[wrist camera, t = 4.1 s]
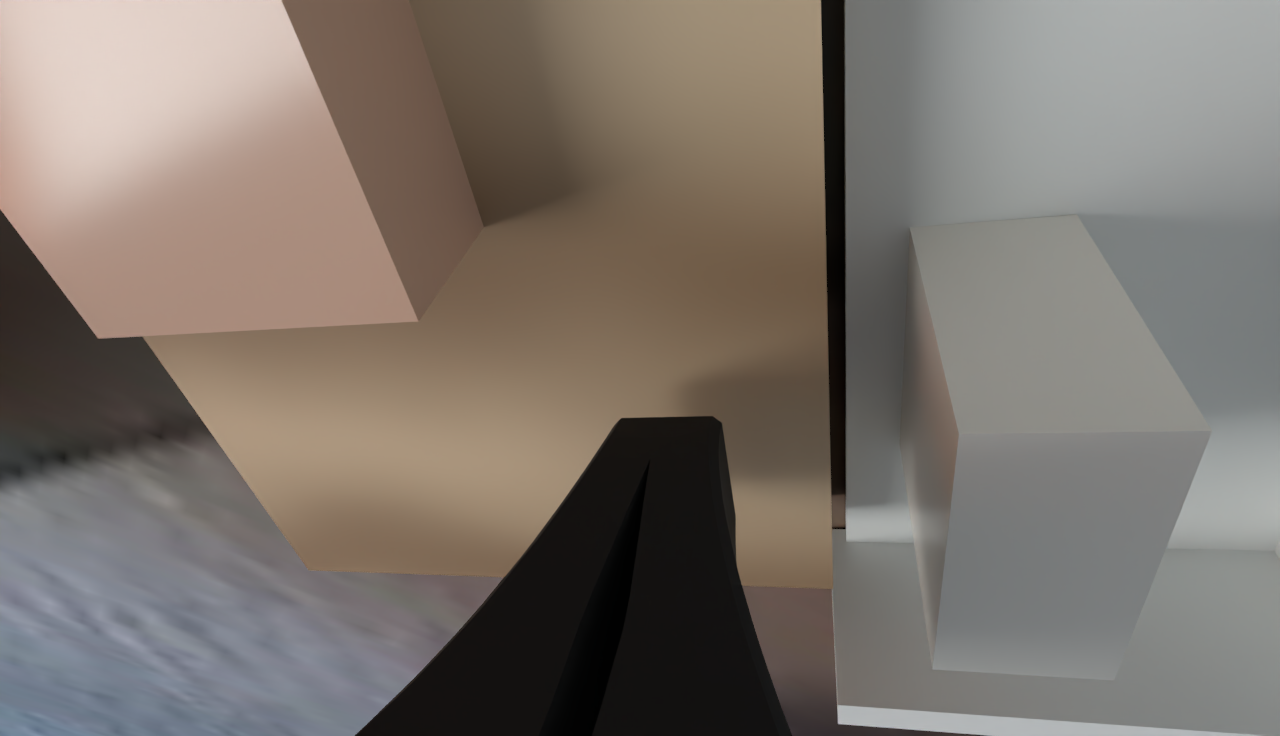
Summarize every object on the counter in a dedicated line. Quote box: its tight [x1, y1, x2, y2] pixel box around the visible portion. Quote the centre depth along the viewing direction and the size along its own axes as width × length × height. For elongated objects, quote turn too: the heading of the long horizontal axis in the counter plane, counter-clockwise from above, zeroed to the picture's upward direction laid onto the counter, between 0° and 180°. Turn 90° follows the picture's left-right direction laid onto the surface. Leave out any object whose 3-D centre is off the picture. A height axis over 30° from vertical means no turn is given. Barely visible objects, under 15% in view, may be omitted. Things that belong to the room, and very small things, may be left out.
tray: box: [832, 0, 1280, 736], centre depth 8 cm, size 15×8×4 cm, turn 10°
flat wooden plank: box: [143, 0, 833, 589], centre depth 10 cm, size 12×10×2 cm
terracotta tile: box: [0, 0, 484, 339], centre depth 7 cm, size 4×4×2 cm
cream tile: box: [900, 214, 1212, 681], centre depth 9 cm, size 4×4×2 cm
